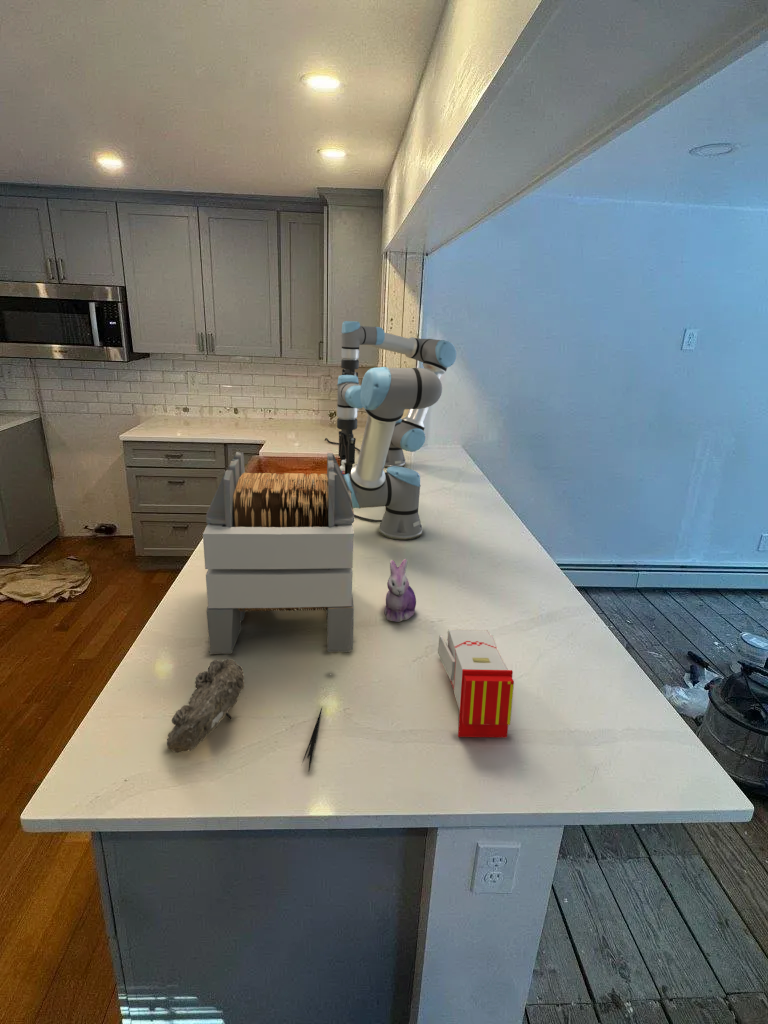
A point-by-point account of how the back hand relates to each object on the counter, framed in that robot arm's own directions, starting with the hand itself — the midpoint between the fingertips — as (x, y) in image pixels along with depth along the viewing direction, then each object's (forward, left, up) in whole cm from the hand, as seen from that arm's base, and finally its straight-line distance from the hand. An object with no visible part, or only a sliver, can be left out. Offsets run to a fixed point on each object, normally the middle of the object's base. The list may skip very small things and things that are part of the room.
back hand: (349, 408), depth 250 cm
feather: (+144, -72, -32) cm, 165 cm away
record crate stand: (+106, -66, -32) cm, 128 cm away
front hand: (+37, -18, -20) cm, 46 cm away
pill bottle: (+37, -18, -22) cm, 47 cm away
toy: (+150, -41, -32) cm, 159 cm away
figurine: (+116, -38, -32) cm, 127 cm away
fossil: (+135, -90, -32) cm, 166 cm away
